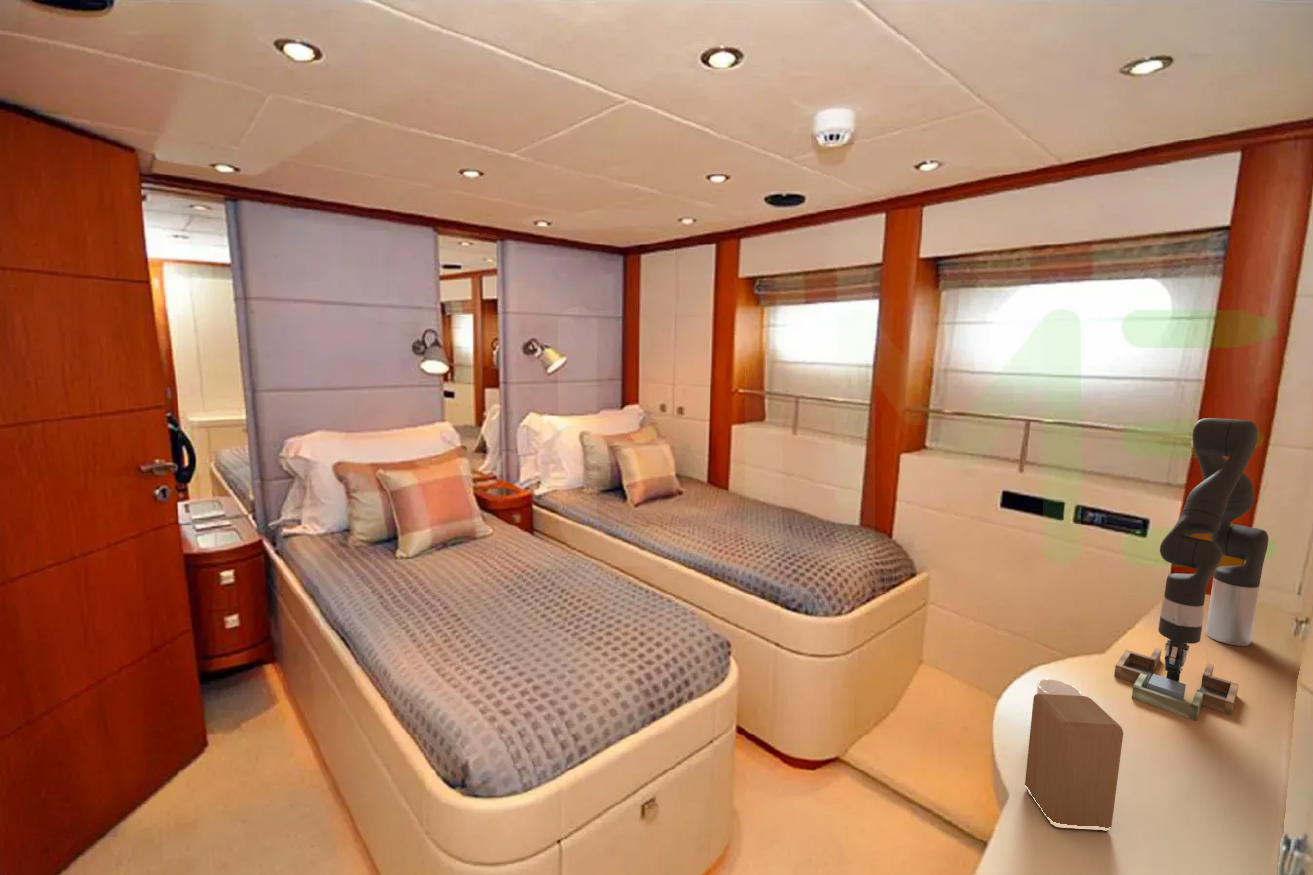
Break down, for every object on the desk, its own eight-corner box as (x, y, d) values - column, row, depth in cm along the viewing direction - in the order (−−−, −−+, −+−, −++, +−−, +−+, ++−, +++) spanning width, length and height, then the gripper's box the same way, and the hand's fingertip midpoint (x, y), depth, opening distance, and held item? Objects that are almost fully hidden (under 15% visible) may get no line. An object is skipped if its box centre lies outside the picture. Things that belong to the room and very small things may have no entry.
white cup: (1070, 724, 129) (1074, 682, 128) (1082, 746, 122) (1087, 703, 121) (1029, 717, 132) (1033, 676, 130) (1039, 738, 125) (1043, 695, 123)
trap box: (1130, 650, 160) (1132, 640, 160) (1239, 683, 144) (1241, 672, 144) (1105, 688, 143) (1107, 677, 142) (1226, 731, 127) (1228, 718, 126)
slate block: (1151, 688, 143) (1153, 673, 142) (1183, 699, 138) (1185, 684, 138) (1145, 698, 139) (1148, 682, 138) (1179, 710, 135) (1181, 694, 134)
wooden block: (1077, 791, 110) (1089, 693, 107) (1113, 834, 100) (1127, 728, 97) (1022, 787, 111) (1031, 690, 108) (1051, 830, 101) (1063, 725, 98)
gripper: (1165, 605, 146) (1157, 669, 148) (1155, 621, 137) (1146, 689, 140) (1206, 615, 140) (1196, 681, 143) (1198, 632, 132) (1188, 703, 134)
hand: (1171, 685), depth 141 cm, fingers closed
